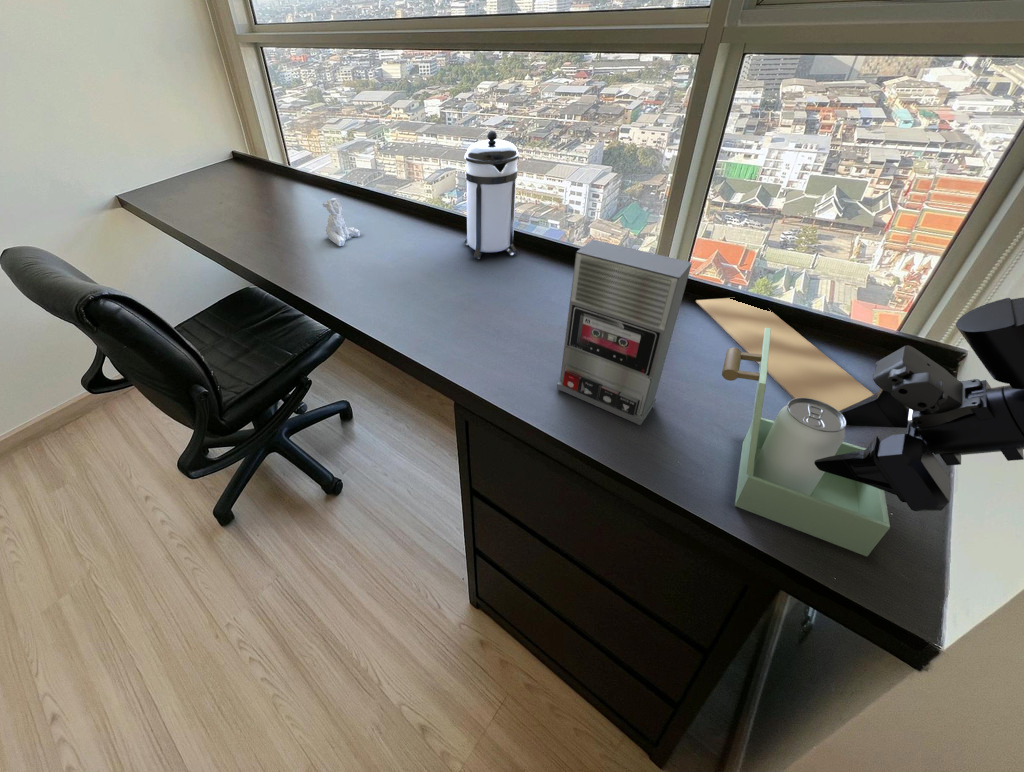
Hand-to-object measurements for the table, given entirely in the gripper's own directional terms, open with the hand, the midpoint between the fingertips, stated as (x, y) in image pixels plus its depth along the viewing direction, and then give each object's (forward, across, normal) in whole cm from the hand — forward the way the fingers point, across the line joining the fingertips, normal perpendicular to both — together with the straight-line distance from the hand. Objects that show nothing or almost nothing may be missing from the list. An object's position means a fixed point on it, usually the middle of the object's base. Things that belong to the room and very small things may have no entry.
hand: (823, 441), depth 56 cm
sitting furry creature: (+88, -17, -74) cm, 116 cm away
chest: (+6, 0, +7) cm, 9 cm away
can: (+8, 0, +5) cm, 9 cm away
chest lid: (+3, +1, -7) cm, 8 cm away
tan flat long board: (+12, -32, +1) cm, 34 cm away
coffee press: (+61, -37, -47) cm, 85 cm away
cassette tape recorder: (+25, -1, -12) cm, 28 cm away
